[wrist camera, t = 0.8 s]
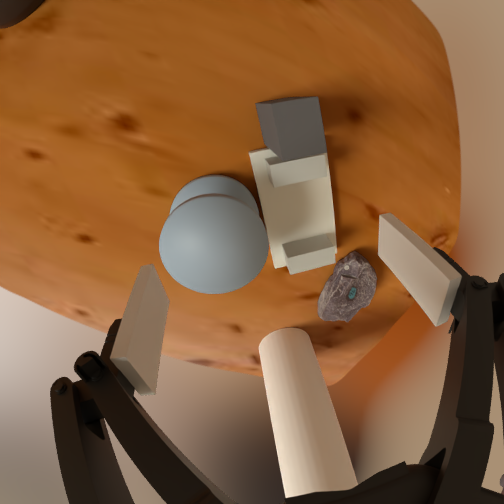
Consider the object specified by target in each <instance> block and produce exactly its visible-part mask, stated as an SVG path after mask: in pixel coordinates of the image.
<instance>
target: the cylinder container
mask: <svg viewBox="0 0 504 504" xmlns="http://www.w3.org/2000/svg"><path fill="white" fill-rule="evenodd" d="M259 353H260V359H261V364H262V370H263V376H264V381H265V387H266V393H267V398H268V404H269V410H270V415H271V421H272V426H273V432H274V437H275V443H276V448H277V454H278V459H279V464H280V470H281V475H282V481H283V486H284V490H285V496H286V498H289V497H294V496H299V495H304V494H308V493H312V492H321V491H340V490H349V489H352V488H353V487H355V486H357V485H358V483H357V480H356V477H355V473H354V470H353V467H352V464H351V460H350V457H349V454H348V451H347V447H346V444H345V442H344V438H343V435H342V432H341V429H340V426H339V423H338V420H337V416H336V414H335V410H334V408H333V404H332V401H331V399H330V395H329V392H328V390H327V387H326V384H325V381H324V378H323V375H322V372H321V369H320V366H319V363H318V360H317V357H316V354H315V352H314V349H313V346H312V343H311V340H310V337H309V335H308V334H307V333H306V332H305V331H304V330H301V329H298V328H283V329H279V330H276V331H274V332H272V333H270V334H268V335H267V336H266V337H265V338H264V339H263V340H262V341H261V343H260V345H259Z"/></svg>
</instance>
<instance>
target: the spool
mask: <svg viewBox="0 0 504 504" xmlns="http://www.w3.org/2000/svg"><path fill="white" fill-rule="evenodd" d="M268 250H269V242H268V236H267V232H266V229H265V226H264V224H263V222H262V220H261V218H260V217H259V211H258V207H257V204H256V201H255V199H254V197H253V195H252V194H251V192H250V191H249V190H248V189H247V187H245V186H244V185H243V184H242V183H240V182H239V181H237V180H235V179H233V178H231V177H228V176H224V175H205V176H201V177H198V178H196V179H194V180H192V181H190V182H189V183H187V184H186V185H185V186H184V187H183V188H182V189H181V190H180V191H179V192H178V194H177V195H176V197H175V199H174V201H173V204H172V207H171V210H170V215H169V217H168V218H167V220H166V222H165V224H164V227H163V229H162V232H161V235H160V241H159V251H160V256H161V259H162V262H163V264H164V266H165V268H166V270H167V271H168V272H169V274H170V275H171V276H172V277H173V278H174V279H175V280H176V281H177V282H179V283H180V284H182V285H183V286H185V287H187V288H189V289H191V290H194V291H197V292H201V293H208V294H220V293H227V292H231V291H234V290H237V289H239V288H241V287H243V286H245V285H246V284H248V283H249V282H251V281H252V280H253V279H254V278H255V277H256V276H257V275H258V274H259V272H260V271H261V270H262V268H263V266H264V264H265V262H266V259H267V256H268Z"/></svg>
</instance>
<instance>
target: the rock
mask: <svg viewBox="0 0 504 504" xmlns="http://www.w3.org/2000/svg"><path fill="white" fill-rule="evenodd" d="M376 280H377V277H376V273H375V270H374V269H373V267H372V266H371V265H370V264H369V262H368V261H367V260H366V259H365V258H364V257H363V256H362V255H361V254H359V253H358V252H356V251H353V252H351V253H349V254H348V255H347V256H346V257H345V258H344V259H342V260H339V261H338V263H337V264H336V266H335V268H334V272H333V275H332V276H330V278H329V280H328V281H327V282H326V284H325V286H324V289H323V291H322V292H321V294H320V297H319V300H318V316H319V317H320V318H321V319H322V320H324V321H337V320H341V321H343V320H344V321H346V322H349V321H350V320H351V319H352V317H353V316H354V315H355V314H356V313H357V312H358V311H359V310H360V309H361V308H362V307H364V308H365V307H366V306H368V305H369V304H370V301H371V299H372V298H373V296H374V293H375V288H376Z"/></svg>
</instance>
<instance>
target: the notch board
mask: <svg viewBox="0 0 504 504" xmlns="http://www.w3.org/2000/svg"><path fill="white" fill-rule="evenodd" d="M249 155H250V160H251V164H252V168H253V173H254V177H255V181H256V186H257V190H258V195H259V199H260V203H261V208H262V212H263V217H264V222H265V226H266V231H267V235H268V240H269V244H270V249H271V254H272V258H273V263H274V266H275V269H276V268H280V267H284V266H287V267H288V270H289V272H290V275H291V274H295V273H299V272H303V271H307V270H311V269H314V268H318V267H322V266H326V265H329V264H333V263H335V253H337V245H336V231H335V219H334V209H333V199H332V189H331V181H330V172H329V165H328V157H327V153H322V154H317V155H311V156H306V157H301V158H296V159H291V160H286V161H282V160H281V159H280V158H279V157H278V156H277V155H276V154H275V153H274V152H273V151H272V150H270V149H269V148H268V147H267V148H263V149H258V150H254V151H249Z"/></svg>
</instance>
